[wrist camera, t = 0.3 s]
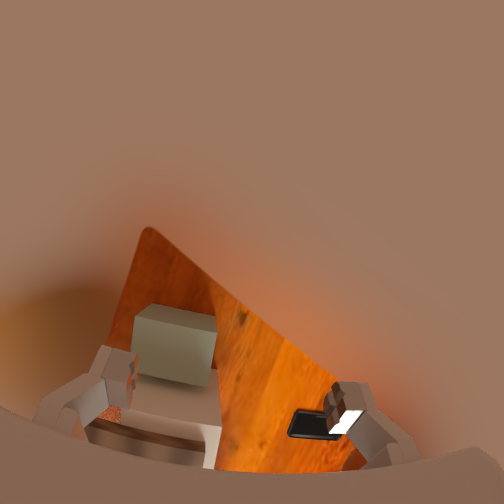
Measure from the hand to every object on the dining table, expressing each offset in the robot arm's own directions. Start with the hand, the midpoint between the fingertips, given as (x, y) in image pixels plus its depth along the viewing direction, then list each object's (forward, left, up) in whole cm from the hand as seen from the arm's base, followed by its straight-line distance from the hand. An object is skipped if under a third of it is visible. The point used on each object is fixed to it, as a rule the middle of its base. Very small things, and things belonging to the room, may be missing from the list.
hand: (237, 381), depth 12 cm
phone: (-43, -11, -56) cm, 71 cm away
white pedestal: (-19, +15, -55) cm, 60 cm away
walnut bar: (-17, +20, -29) cm, 39 cm away
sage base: (-8, +11, -55) cm, 57 cm away
